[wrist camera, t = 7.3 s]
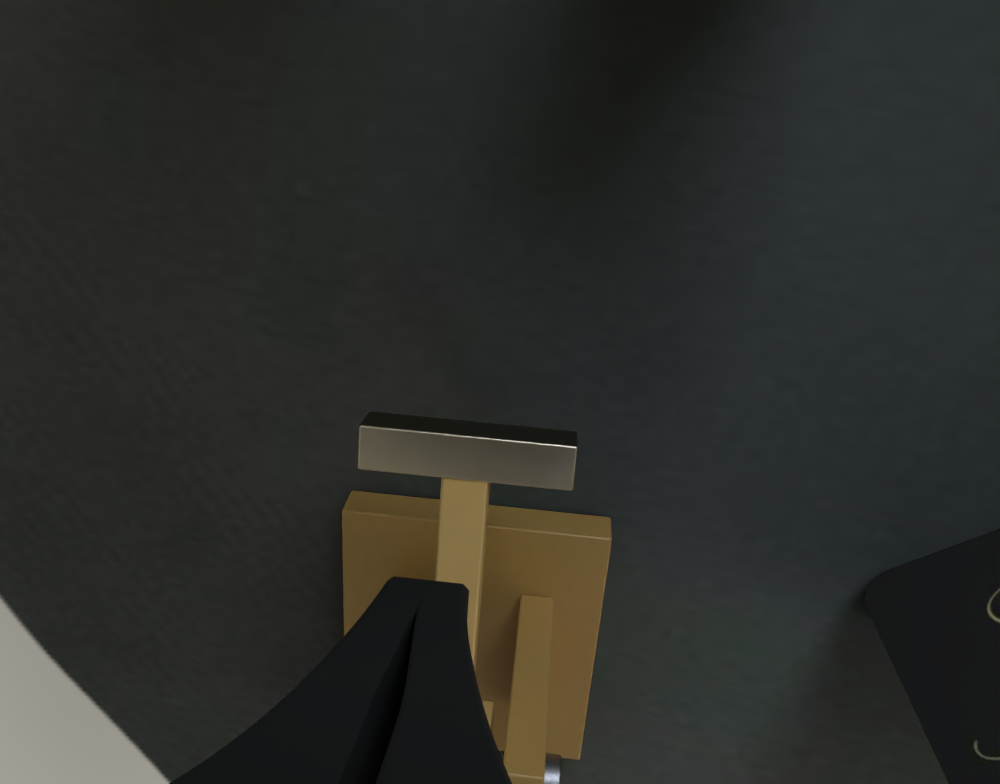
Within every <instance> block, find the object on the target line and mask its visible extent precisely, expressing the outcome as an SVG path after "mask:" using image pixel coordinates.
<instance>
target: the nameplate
mask: <svg viewBox="0 0 1000 784" xmlns="http://www.w3.org/2000/svg"><path fill="white" fill-rule="evenodd" d="M864 602H865V605H866V608H867V610H868V612H869V614H870V616H871V618H872V620H873V622H874V624H875V627H876V629H877V631H878V633H879V635H880V637H881V639H882V641H883V644H884V646H885V648H886V650H887V652H888V654H889V656H890V659H891V661H892V663H893V665H894V667H895V669H896V671H897V674H898V676H899V678H900V680H901V682H902V684H903V686H904V688H905V691H906V693H907V695H908V697H909V699H910V701H911V703H912V706H913V708H914V710H915V712H916V714H917V716H918V718H919V721H920V723H921V725H922V727H923V729H924V731H925V733H926V736H927V738H928V740H929V742H930V744H931V746H932V748H933V750H934V753H935V755H936V757H937V759H938V761H939V763H940V765H941V768H942V770H943V772H944V774H945V776H946V778H947V780H948V783H949V784H1000V529H998V530H996V531H993V532H990V533H988V534H985V535H982V536H980V537H977V538H974V539H971V540H969V541H966V542H963V543H961V544H958V545H955V546H953V547H950V548H947V549H944V550H942V551H939V552H936V553H934V554H931V555H928V556H926V557H923V558H920V559H918V560H915V561H912V562H909V563H907V564H904V565H901V566H898V567H895V568H893V569H890V570H888V571H886V572H884V573H882V574H880V575H879V576H877V577H876V578H875V579H874V580H873V581H872V582H871V583H870V584H869V586H868V587H867V589H866V593H865V598H864Z"/></svg>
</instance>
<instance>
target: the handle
mask: <svg viewBox="0 0 1000 784" xmlns="http://www.w3.org/2000/svg"><path fill="white" fill-rule="evenodd" d="M577 452H578V437H577V432H574V431H564V430H554V429H543V428H533V427H523V426H513V425H503V424H493V423H483V422H473V421H463V420H453V419H442V418H432V417H422V416H412V415H402V414H392V413H382V412H372V411H371V412H369V413H368V415H367V416H366V417H365V419H364V420H363V421H362V422H361V424H360V425H359V439H358V469H363V470H373V471H383V472H392V473H402V474H412V475H421V476H431V477H441V491H440V507H439V523H438V539H437V555H436V571H435V581H442V582H451V583H460V584H464V585H465V586H466V587H467V588H468V590H469V600H468V617H467V626H468V636H469V643H470V650H471V655H472V660H473V665H474V670H476V658H477V645H478V633H479V620H480V608H481V596H482V583H483V571H484V558H485V546H486V533H487V521H488V509H489V496H490V484H491V483H499V484H509V485H519V486H529V487H538V488H548V489H558V490H568V491H572V490H573V488H574V479H575V470H576V461H577ZM482 702H483V706H484V709H485V713H486V716H487V719H488V722H489V726H490V729H491V732H492V727H493V716H494V703H493V702H489V701H482Z"/></svg>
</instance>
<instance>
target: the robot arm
mask: <svg viewBox="0 0 1000 784" xmlns="http://www.w3.org/2000/svg"><path fill="white" fill-rule="evenodd" d="M468 600H469V590H468V588H467V587H466V586H465V585H464V584H460V583H451V582H442V581H433V580H423V579H414V578H405V577H396V576H393V577H392V578H390V579H389V580H388V581H387V582H386V583H385V585H384V586H383V587H382V589H381V590H380V592H379V593H378V595H377V596H376V597H375V599H374V600H373V601H372V603H371V604H370V605H369V607H368V608H367V609H366V610H365V612H364V613H363V614H362V615H361V617H360V618H359V619H358V620H357V622H356V623H355V624H354V625H353V627H352V628H351V629H350V630H349V631H348V632H347V633H346V635H345V636H344V637H343V638H342V639H341V640H340V641H339V643H338V644H337V645H336V646H335V647H334V648H333V649H332V651H331V652H330V653H329V654H328V655H327V656H326V657H325V658H324V659H323V660H322V661H321V662H320V663H319V664H318V665H317V666H316V667H315V668H314V669H313V670H312V671H311V672H310V673H309V674H308V675H307V676H306V677H305V678H304V679H303V680H302V682H301V683H300V684H299V685H298V686H297V687H295V688H294V689H293V690H292V691H291V692H290V693H289V694H288V695H287V696H286V697H285V698H284V699H283V700H282V701H280V702H279V703H278V704H277V705H276V706H275V707H274V708H272V709H271V710H270V711H269V712H268V713H267V714H265V715H264V716H263V717H262V718H261V719H260V720H258V721H257V722H256V723H255V724H253V725H252V726H251V727H250V728H248V729H247V730H246V731H244V732H243V733H242V734H241V735H239V736H238V737H237V738H235V739H234V740H233V741H231V742H230V743H229V744H228V745H226V746H225V747H224V748H222V749H221V750H219V751H218V752H217V753H215V754H214V755H213V756H211V757H210V758H208V759H207V760H205V761H204V762H202V763H201V764H199V765H198V766H196V767H195V768H193V769H192V770H190V771H188V772H187V773H185V774H184V775H182V776H181V777H179V778H177V779H176V780H174V781H173V782H171V783H170V784H512V782H511V780H510V778H509V775H508V773H507V770H506V768H505V766H504V763H503V761H502V758H501V756H500V753H499V751H498V748H497V745H496V743H495V740H494V737H493V734H492V732H491V729H490V726H489V722H488V719H487V716H486V713H485V709H484V706H483V702H482V699H481V695H480V692H479V688H478V684H477V680H476V675H475V670H474V665H473V660H472V655H471V650H470V643H469V636H468V626H467V617H468Z"/></svg>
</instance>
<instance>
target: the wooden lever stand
mask: <svg viewBox="0 0 1000 784" xmlns="http://www.w3.org/2000/svg"><path fill="white" fill-rule="evenodd" d="M439 507H440V500H439V499H430V498H420V497H410V496H401V495H391V494H381V493H372V492H362V491H351V493H350V495H349V497H348V499H347V501H346V503H345V506H344V508H343V510H342V553H343V608H344V636H345V635H346V633H347V632H348V631H349V630H350V629H351V628H352V627H353V625H354V624H355V623H356V622H357V620H358V619H359V618H360V617H361V615H362V614H363V613H364V612H365V610H366V609H367V608H368V607H369V605H370V604H371V603H372V601H373V600H374V599H375V597H376V596H377V595H378V593H379V592H380V590H381V589H382V587H383V586H384V585H385V583H386V582H387V581H388V580H389V579H390V578H392V577H393V576H396V577H405V578H414V579H423V580H433V581H435V571H436V555H437V539H438V523H439ZM611 543H612V531H611V519H610V518H609V517H602V516H593V515H583V514H574V513H564V512H554V511H545V510H535V509H526V508H516V507H506V506H497V505H489V509H488V521H487V533H486V546H485V558H484V571H483V583H482V596H481V608H480V620H479V633H478V645H477V658H476V670H475V675H476V680H477V684H478V688H479V692H480V695H481V699H482V701H489V702H493V703H494V716H493V727H492V734H493V737H494V740H495V743H496V745H497V748H498V750H499V751H504V758H503V763H504V766H505V768H506V770H507V773H508V775H509V778H510V780H511V782H512V784H561V765H562V760H561V758H566V759H575V760H579V759H580V754H581V747H582V741H583V734H584V727H585V720H586V713H587V707H588V700H589V693H590V686H591V679H592V673H593V666H594V659H595V652H596V645H597V639H598V632H599V625H600V618H601V611H602V605H603V598H604V591H605V584H606V577H607V571H608V564H609V557H610V550H611Z"/></svg>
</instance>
